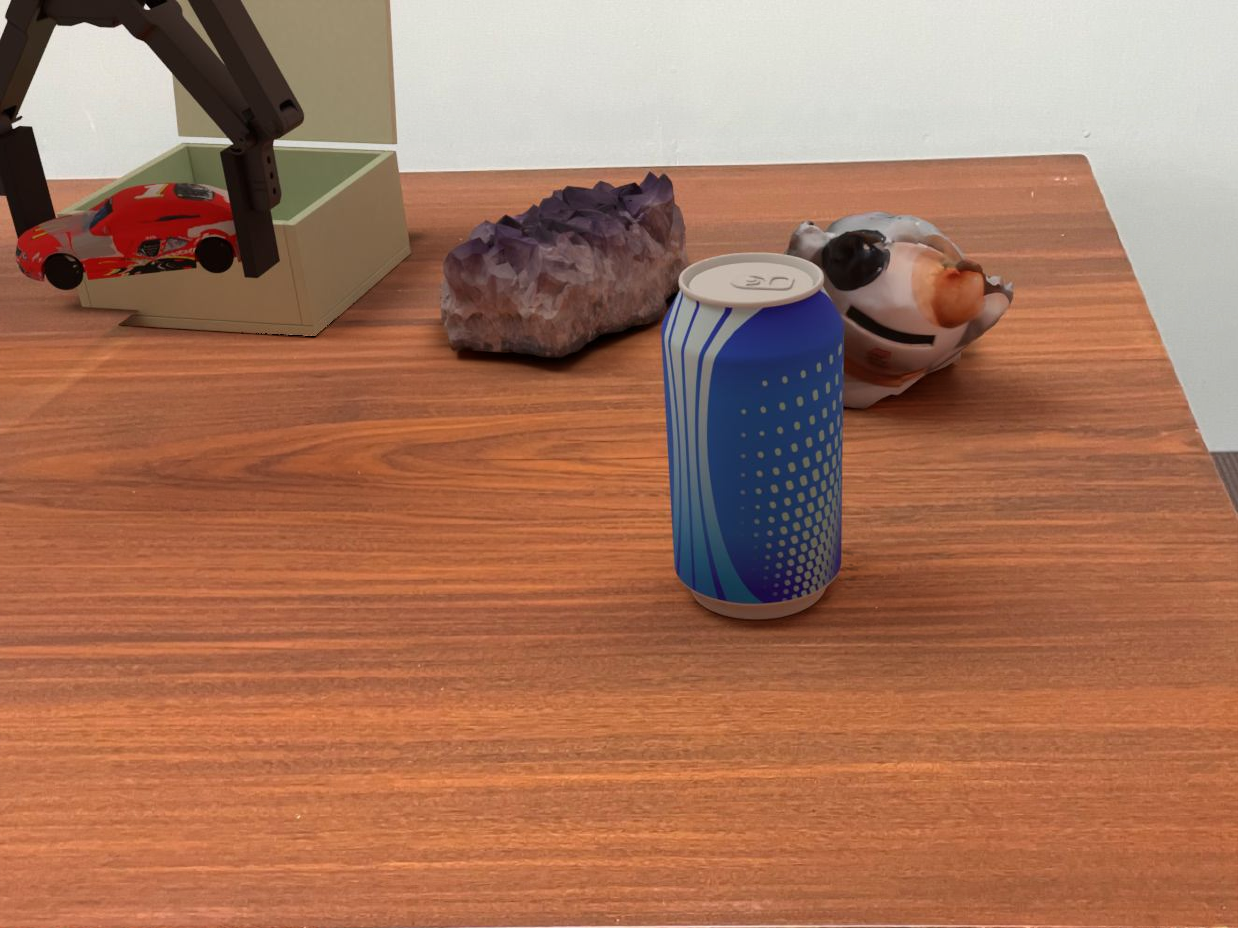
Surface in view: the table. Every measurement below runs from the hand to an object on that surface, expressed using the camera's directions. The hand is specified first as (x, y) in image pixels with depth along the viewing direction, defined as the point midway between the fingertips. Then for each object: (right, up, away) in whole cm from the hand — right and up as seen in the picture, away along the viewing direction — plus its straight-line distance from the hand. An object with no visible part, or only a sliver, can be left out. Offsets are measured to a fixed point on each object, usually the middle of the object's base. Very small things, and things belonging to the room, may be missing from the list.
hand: (152, 262), depth 88 cm
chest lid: (-2, +28, +30) cm, 41 cm away
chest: (-4, +8, +32) cm, 33 cm away
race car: (0, 0, 0) cm, 0 cm away
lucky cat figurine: (+41, -3, +15) cm, 44 cm away
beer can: (+33, -18, -6) cm, 38 cm away
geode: (+21, +3, +25) cm, 33 cm away
